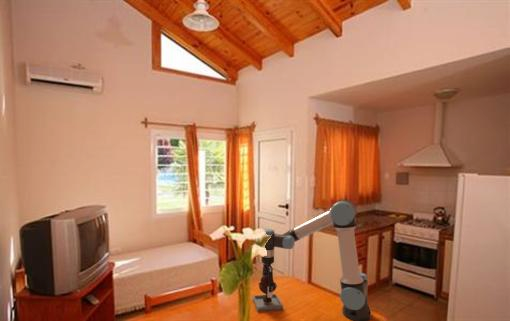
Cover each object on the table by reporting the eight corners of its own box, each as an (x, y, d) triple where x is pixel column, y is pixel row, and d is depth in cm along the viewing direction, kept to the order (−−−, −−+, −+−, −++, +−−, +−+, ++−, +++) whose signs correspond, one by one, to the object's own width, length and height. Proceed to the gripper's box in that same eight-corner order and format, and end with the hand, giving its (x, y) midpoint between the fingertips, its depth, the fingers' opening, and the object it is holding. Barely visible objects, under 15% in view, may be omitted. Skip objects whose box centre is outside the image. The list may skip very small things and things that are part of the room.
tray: (282, 309, 157) (282, 305, 157) (257, 312, 154) (257, 307, 154) (276, 297, 172) (276, 293, 172) (252, 299, 169) (252, 295, 169)
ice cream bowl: (275, 305, 157) (275, 279, 158) (256, 303, 159) (256, 277, 160) (277, 297, 167) (277, 272, 168) (259, 295, 170) (260, 271, 170)
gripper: (257, 250, 175) (257, 285, 174) (266, 262, 152) (265, 302, 151) (269, 249, 176) (269, 284, 176) (279, 261, 153) (278, 301, 153)
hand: (267, 292), depth 163 cm, fingers closed on ice cream bowl, 11 cm apart
